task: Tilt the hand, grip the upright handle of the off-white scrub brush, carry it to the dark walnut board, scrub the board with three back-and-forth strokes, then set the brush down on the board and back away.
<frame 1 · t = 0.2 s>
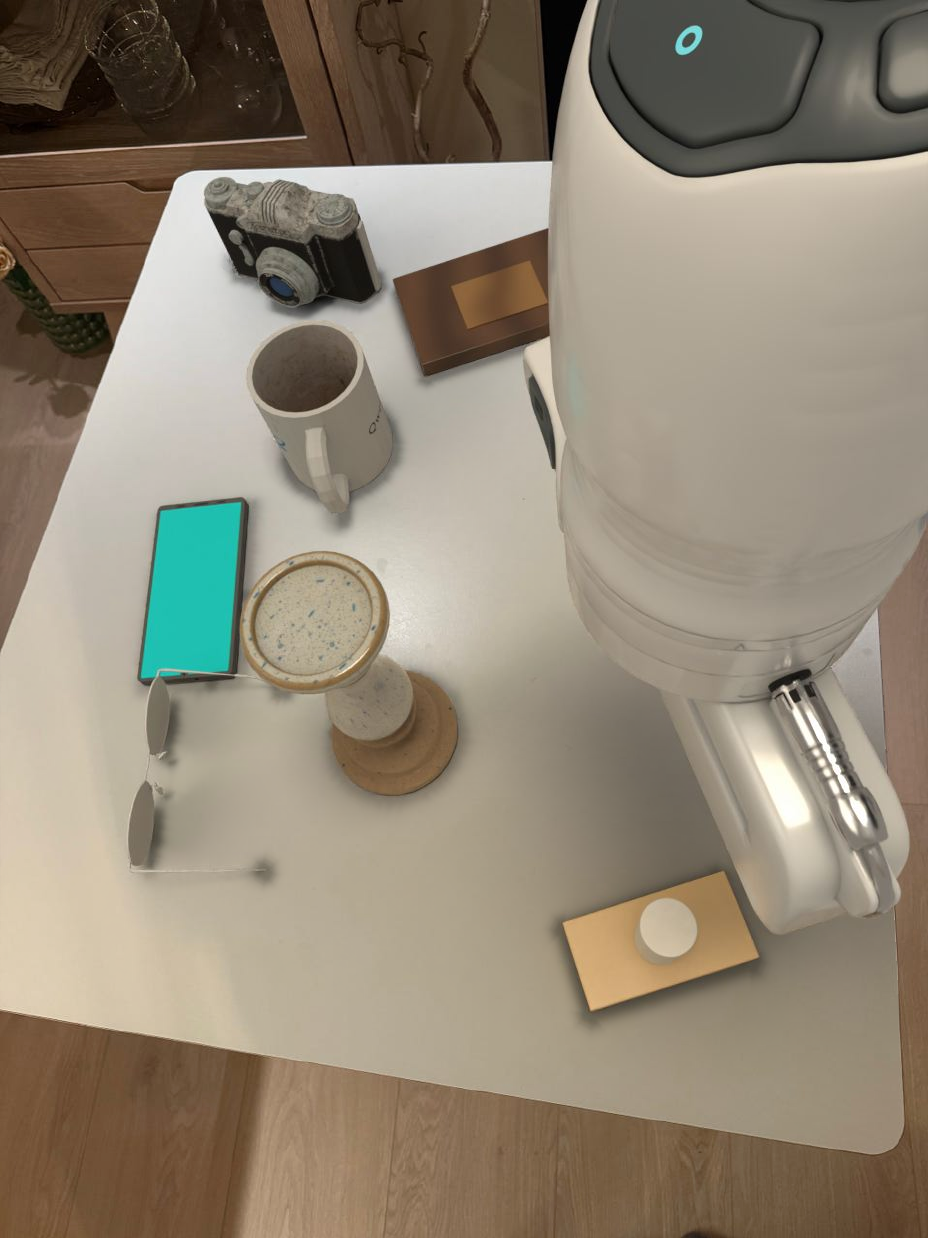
hand: (681, 693, 38), 23 cm above the table, tool pointing down, fingers open, 8 cm apart
smartphone: (197, 591, 69), on the table
sunglasses: (217, 778, 63), on the table
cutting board: (510, 299, 77), on the table
candle holder: (396, 734, 63), on the table
camera: (300, 288, 81), on the table
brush: (655, 944, 55), on the table
mug: (338, 468, 72), on the table
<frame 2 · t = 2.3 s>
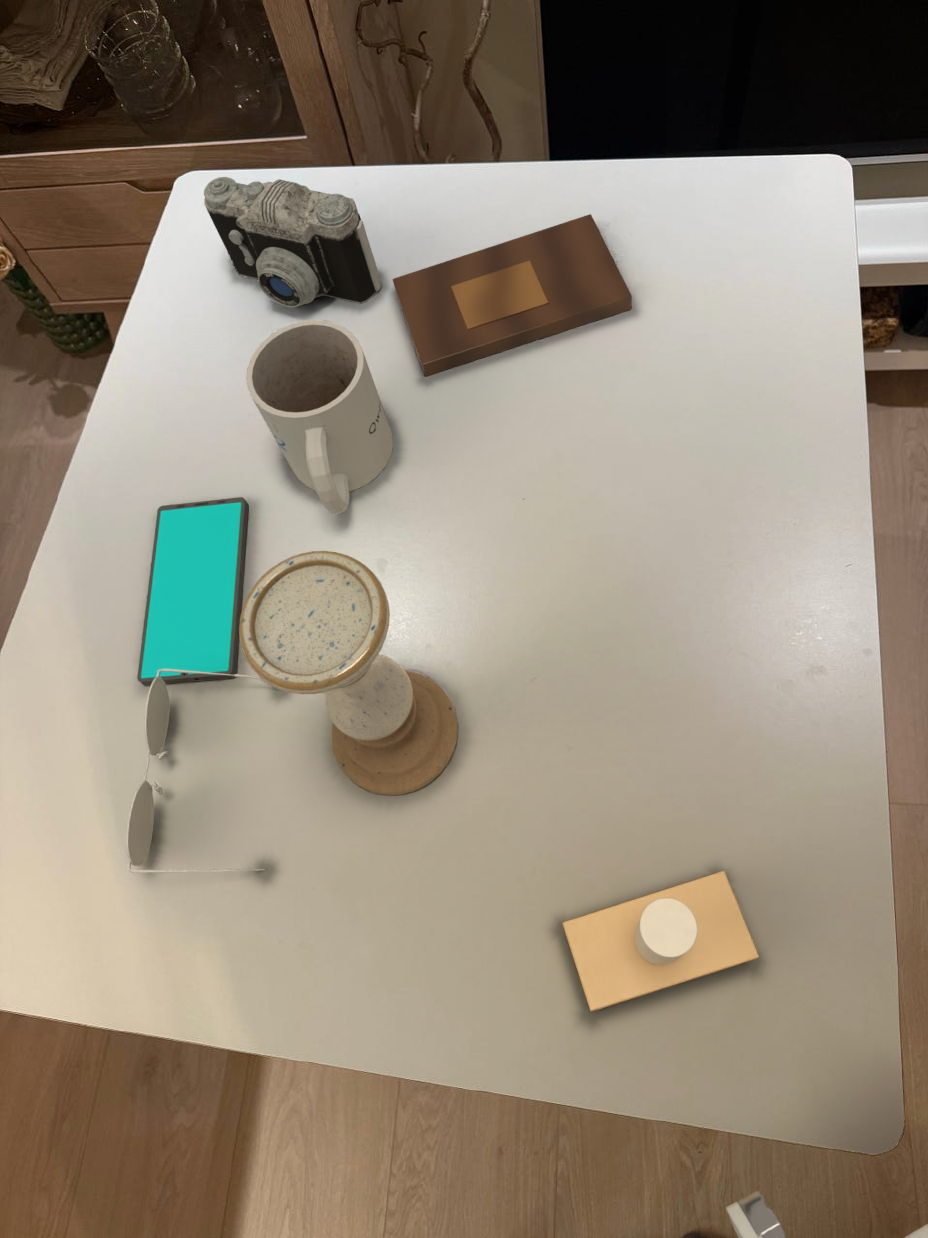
hand: (849, 1149, 35), 17 cm above the table, tool tilted 40°, fingers open, 8 cm apart
nothing on the table moved.
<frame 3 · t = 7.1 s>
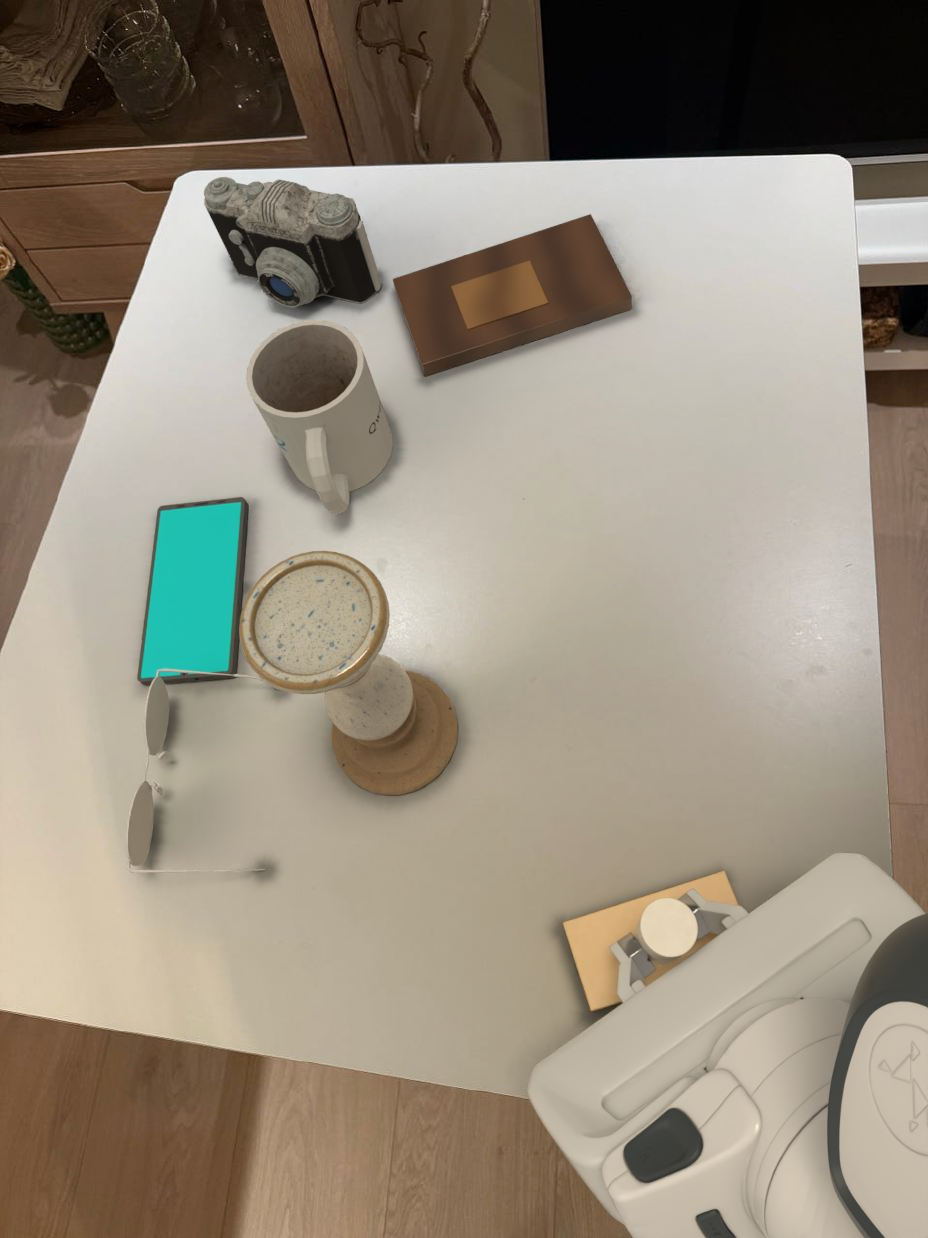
hand: (654, 925, 49), 6 cm above the table, tool tilted 45°, fingers closed on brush, 3 cm apart
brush: (655, 944, 55), on the table, touching gripper
everything else where it was.
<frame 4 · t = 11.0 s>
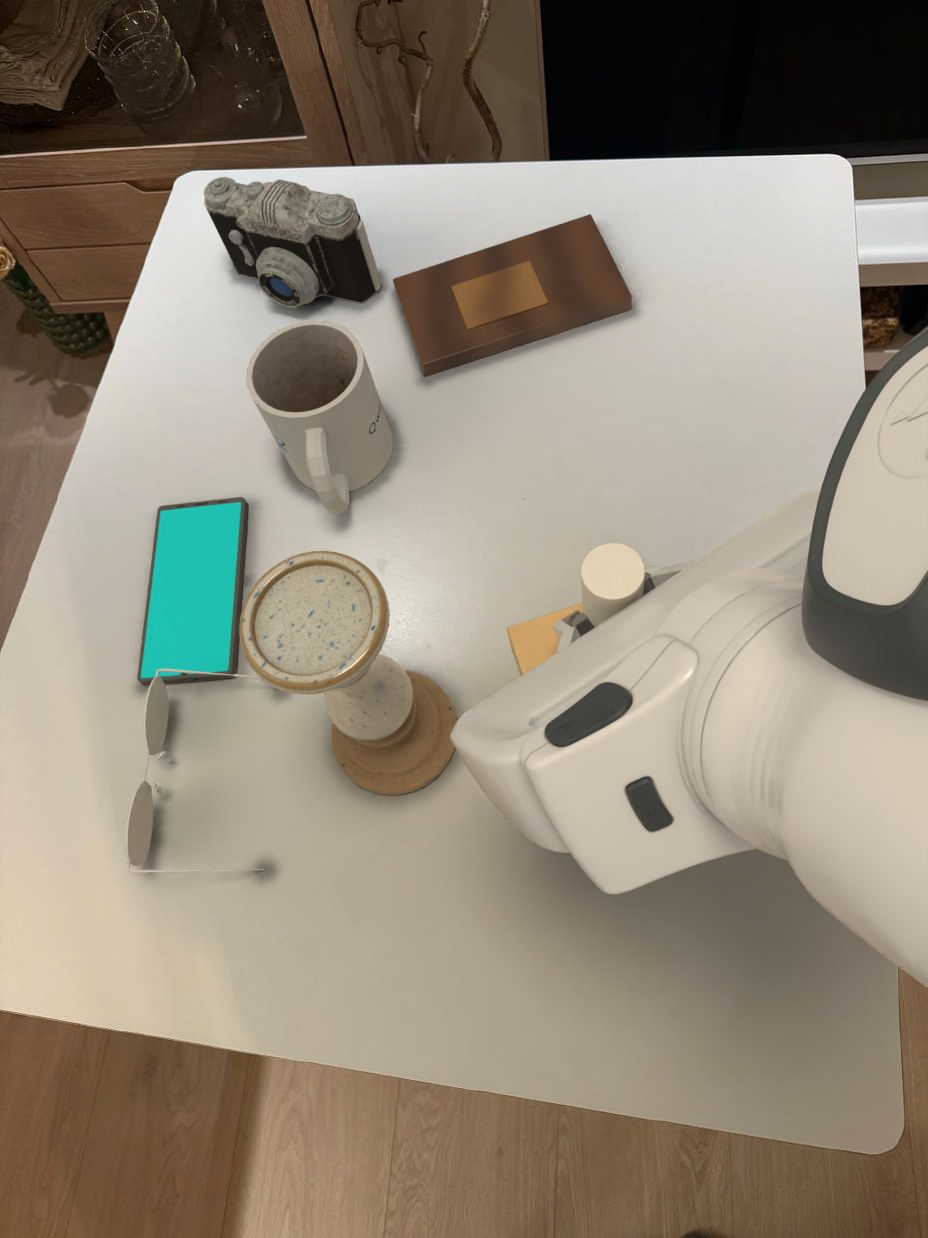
hand: (603, 607, 45), 18 cm above the table, tool tilted 45°, fingers closed on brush, 3 cm apart
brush: (610, 662, 50), point 12 cm above the table, touching gripper
everything else where it was.
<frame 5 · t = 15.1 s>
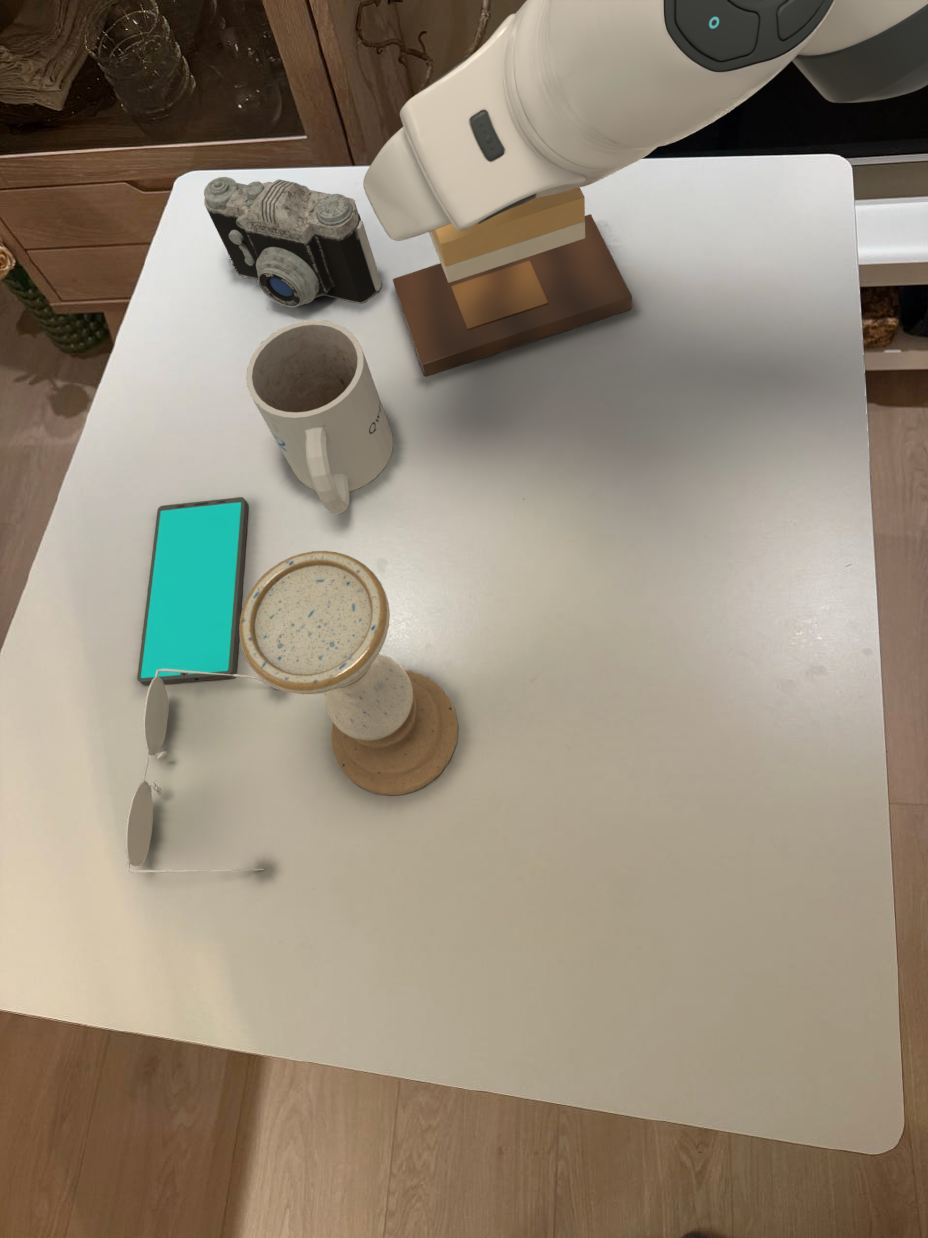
hand: (491, 152, 58), 19 cm above the table, tool tilted 45°, fingers closed on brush, 3 cm apart
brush: (506, 236, 63), point 12 cm above the table, touching gripper
everything else where it was.
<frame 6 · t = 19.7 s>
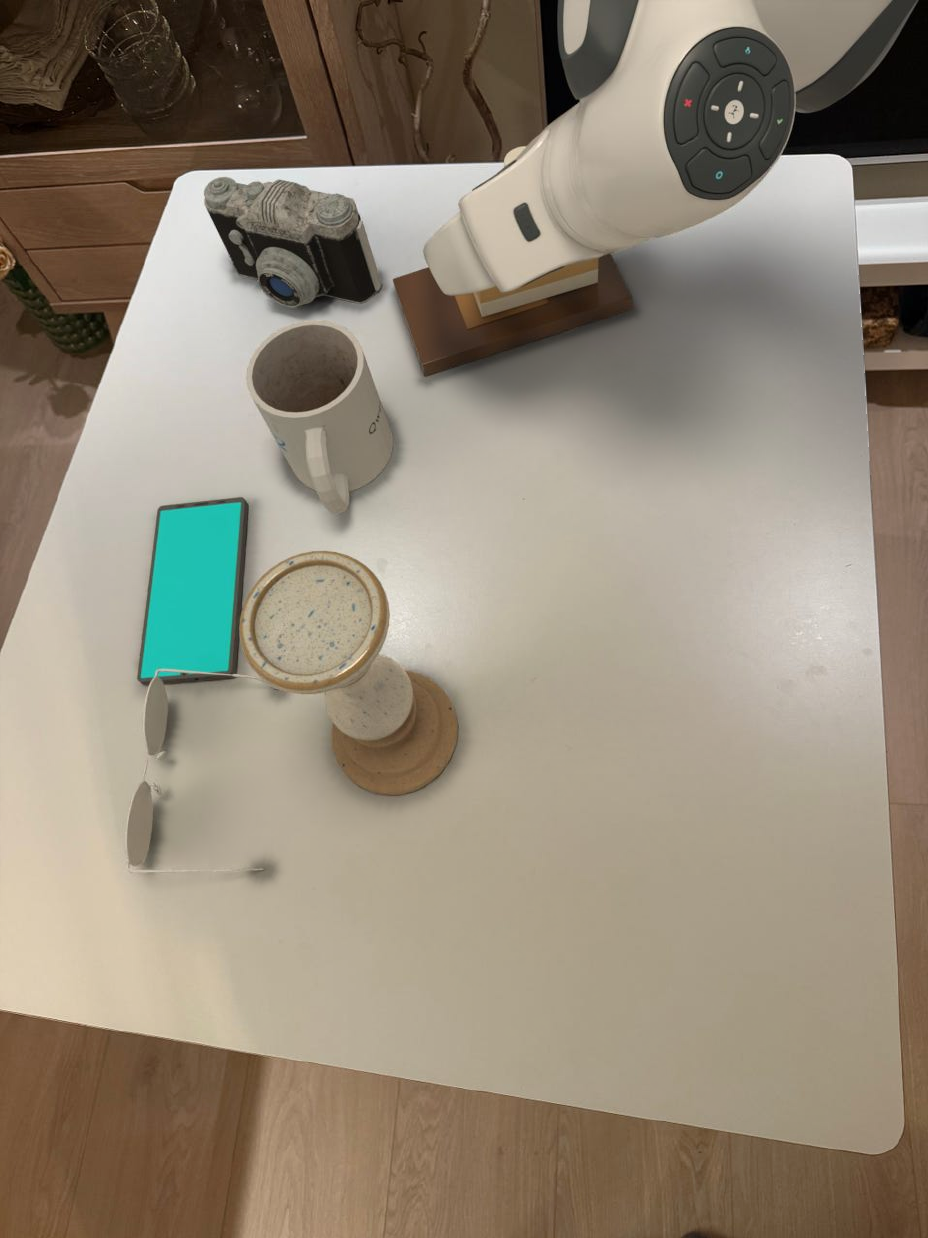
hand: (523, 218, 70), 7 cm above the table, tool tilted 45°, fingers closed on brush, 3 cm apart
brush: (531, 278, 75), point 2 cm above the table, touching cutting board, gripper
everything else where it was.
when the fingers open (7 cm above the table, at t = 23.5 s): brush stays where it is, resting on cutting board.
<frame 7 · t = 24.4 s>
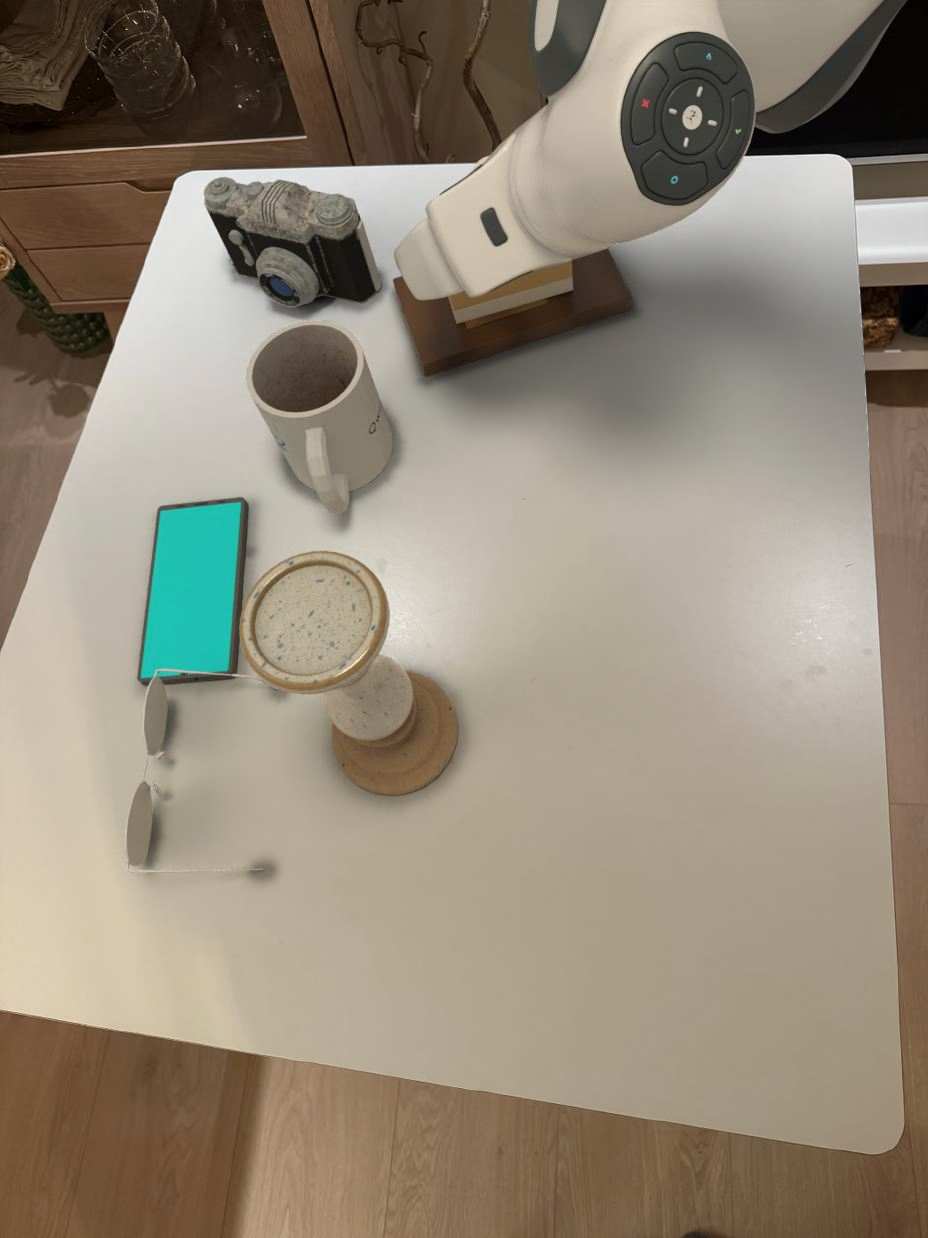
hand: (497, 221, 70), 8 cm above the table, tool tilted 45°, fingers open, 8 cm apart
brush: (507, 285, 75), point 2 cm above the table, touching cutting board
everything else where it was.
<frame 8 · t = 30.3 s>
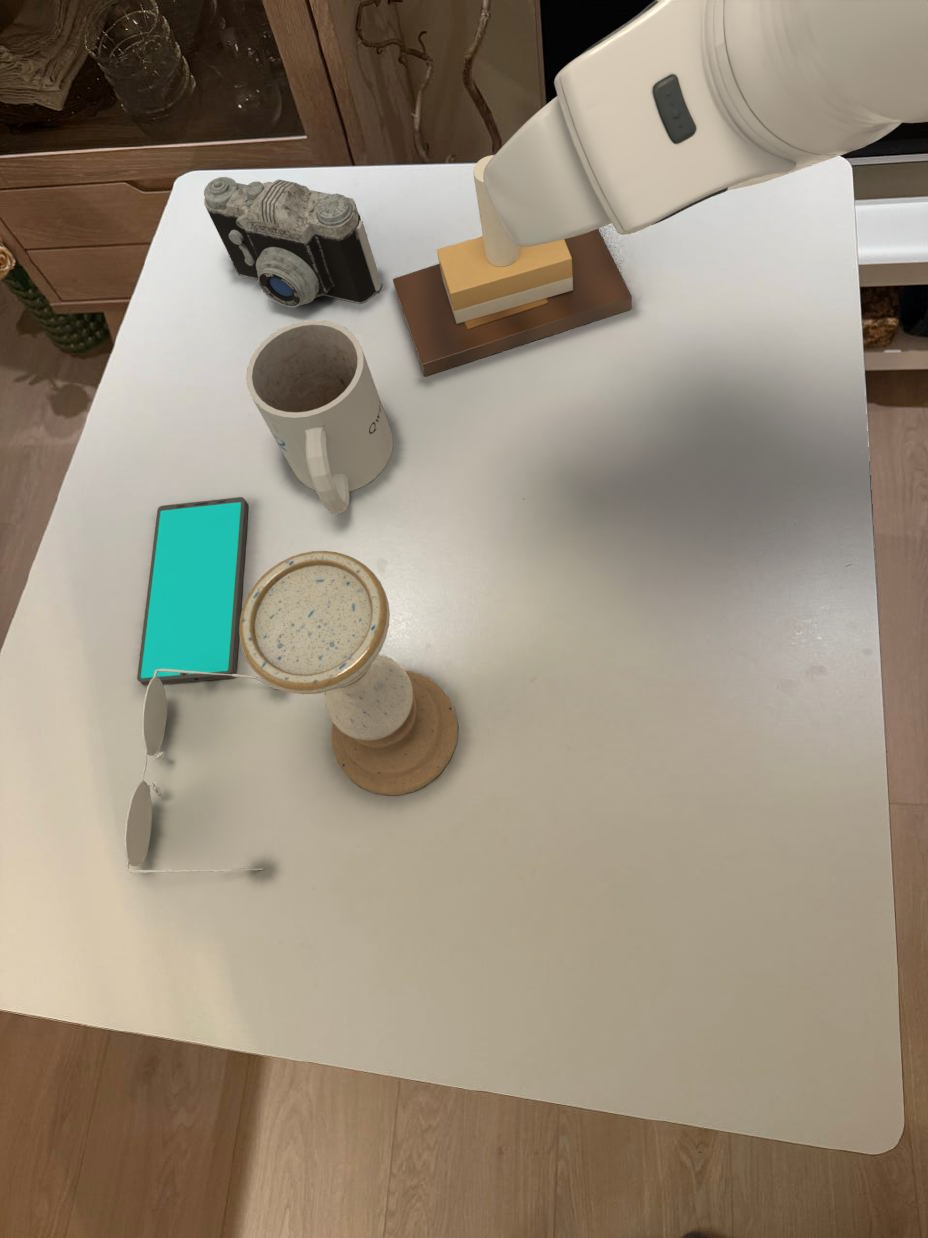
hand: (623, 138, 47), 25 cm above the table, tool tilted 45°, fingers open, 8 cm apart
nothing on the table moved.
at the end: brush inside the target area on the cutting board (0.1 cm from its centre), point 1.6 cm above the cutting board's base; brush tilted 0°; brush moved 52.6 cm from its start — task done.
